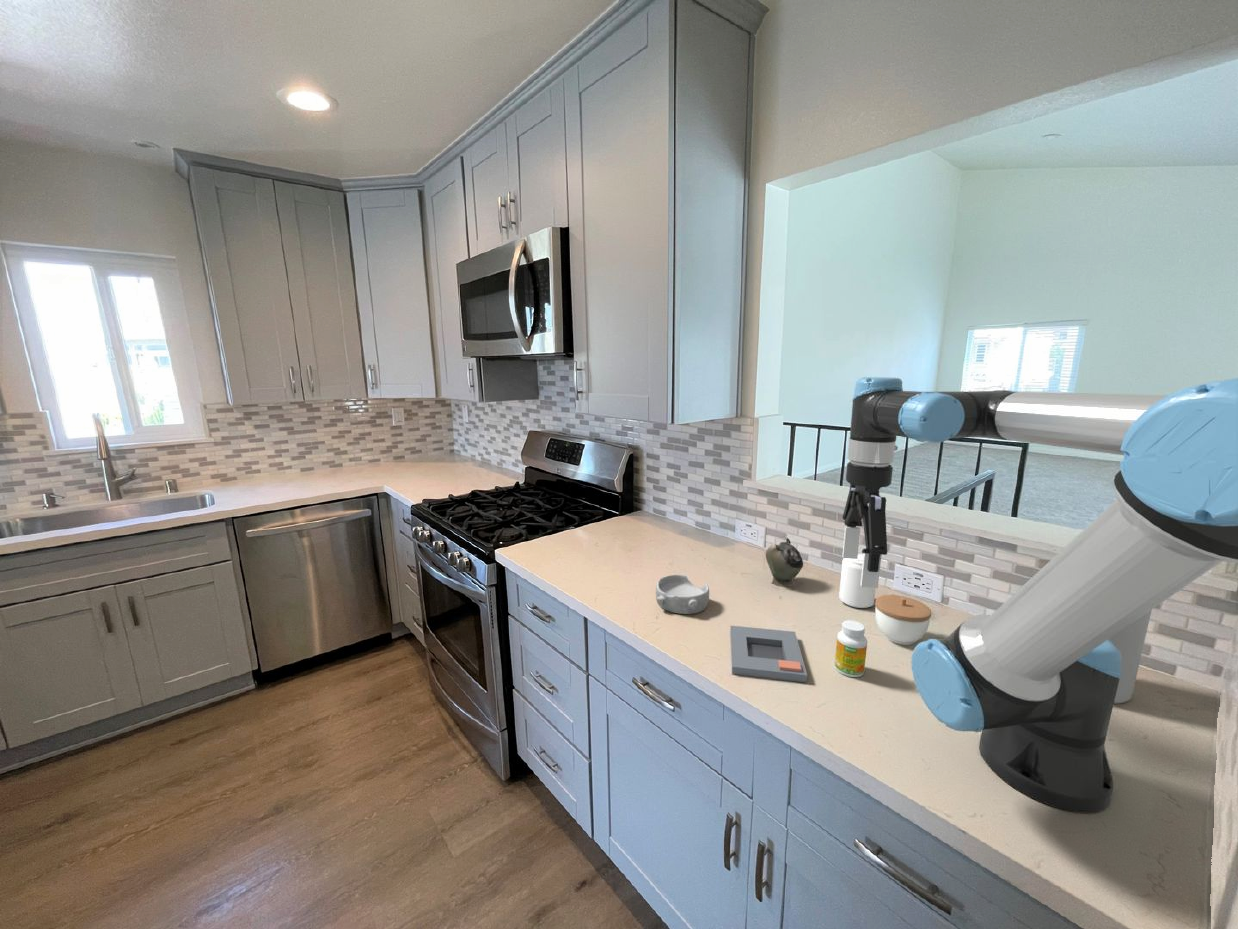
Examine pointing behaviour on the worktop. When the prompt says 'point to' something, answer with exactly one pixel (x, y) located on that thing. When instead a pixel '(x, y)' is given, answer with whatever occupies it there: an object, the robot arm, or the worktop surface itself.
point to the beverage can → (854, 584)
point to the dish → (681, 595)
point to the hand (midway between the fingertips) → (858, 571)
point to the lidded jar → (902, 618)
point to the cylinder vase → (1130, 655)
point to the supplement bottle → (851, 649)
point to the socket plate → (766, 654)
